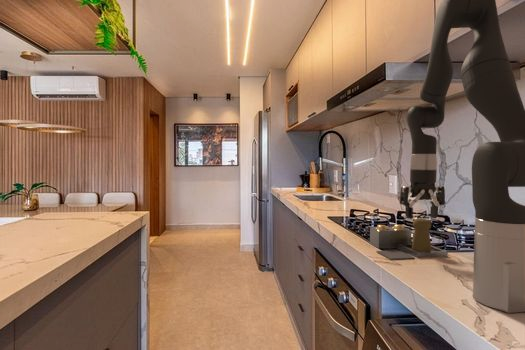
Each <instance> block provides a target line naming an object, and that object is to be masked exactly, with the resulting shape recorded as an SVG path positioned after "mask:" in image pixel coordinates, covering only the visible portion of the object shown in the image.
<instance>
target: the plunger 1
mask: <svg viewBox="0 0 525 350" xmlns="http://www.w3.org/2000/svg"><path fill="white" fill-rule="evenodd" d="M376 227H377V229H378V230H386V227H388V226H387V225H384V224H377V226H376Z"/></svg>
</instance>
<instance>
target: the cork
mask: <svg viewBox="0 0 525 350" xmlns="http://www.w3.org/2000/svg"><path fill="white" fill-rule="evenodd" d="M412 225H413V227H414V231H413V237H412V241H411V244H412V248H411V249H412V250H415V251H417V252H430V251H431V246H432V244H431V235H430V229H431V228H432V223H431V221H430V219H427V218H424V217H423V218H415V219H414V220H413V221H412Z"/></svg>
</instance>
